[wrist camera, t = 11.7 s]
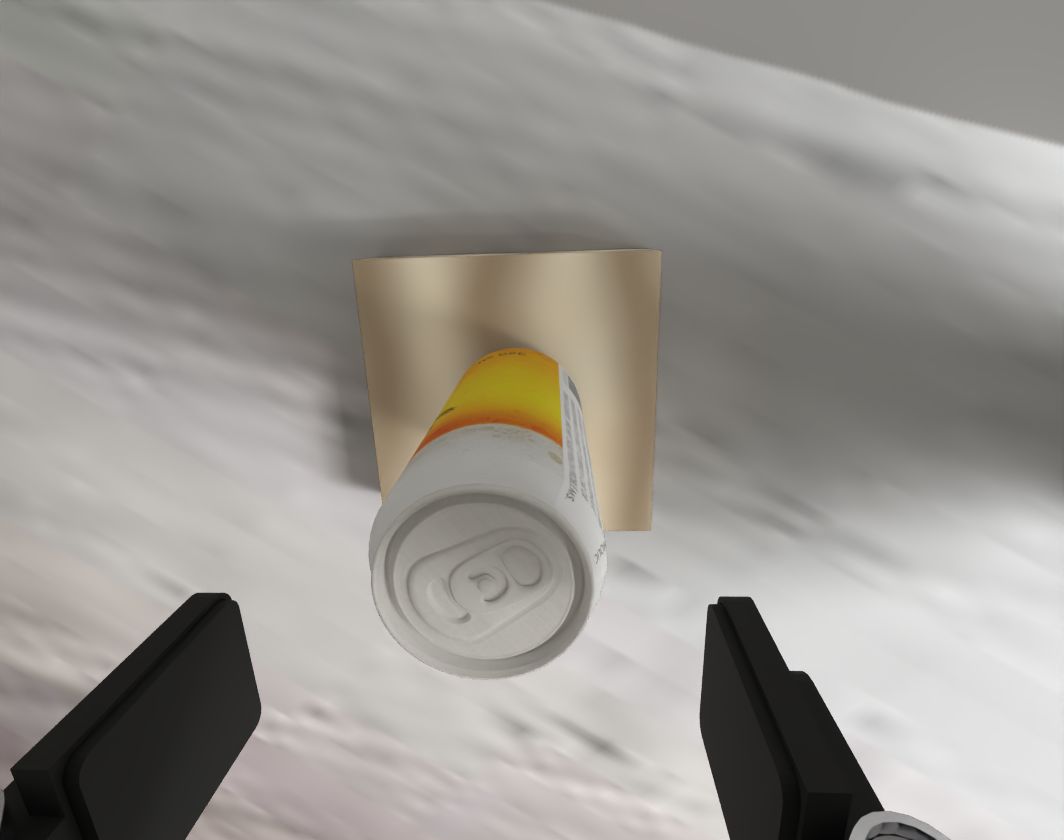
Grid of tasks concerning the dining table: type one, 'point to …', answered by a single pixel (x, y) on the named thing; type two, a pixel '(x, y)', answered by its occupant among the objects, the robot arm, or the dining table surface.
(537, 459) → the beer can
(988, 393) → the dining table surface
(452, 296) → the birch plinth
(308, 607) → the dining table surface
